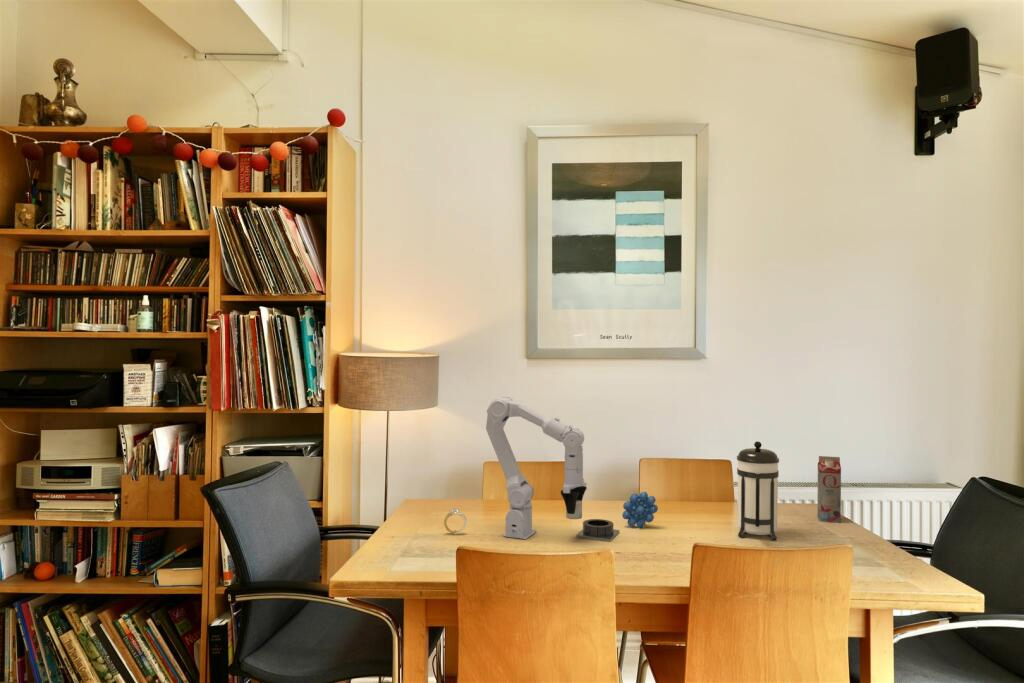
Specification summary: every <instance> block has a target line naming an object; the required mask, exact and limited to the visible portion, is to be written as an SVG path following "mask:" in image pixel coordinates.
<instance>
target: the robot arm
mask: <svg viewBox="0 0 1024 683" xmlns="http://www.w3.org/2000/svg"><path fill="white" fill-rule="evenodd" d="M486 414H487V416H486V425H485V426H486V427H485V429H486V430H485V431H486V432H487V435H488V437H489V440H490V442H491V445H492V447H493V451H494V453H495V455H496V457H497V460H498V462H499V465H500V467H501V469H502V470H501V471H502V472H503V474H504V477H505V480H506V481H505V482H506V486H505V487H506V491H507V501H508V503H509V511H507V513H506V516H505V533H503V534H502V537H506V538H513V539H521V540H527V539H528V538H529V537H531V536H532V535H534V534H536V533H537V529H533V503H532V501H531V500H532V499H533V497H534V494H535V492H534V491H535V490H534V487H533V486H532V485H531V484H530V483H529V482H528V480H527V478H526V477H525V476H524V475H523V474H522V472H521V470H520V467H519V466H520V465H518V464H519V463H518V462H517V460H516V457H515V454H514V452H513V450H512V448H511V445H510V444H511V443H510V442H509V440H508V437H507V435H506V432H505V429H504V428H505V425H506V423H507V422H508V419H509V418H514V417H518V418H522V419H524V420H526V421H528V422H530V423H532V424H534V425H536V426H538V427H540V428H541V429H542V432H543V434H545V435H547V436H549V437H550V438H552V439H554V440H556V441H557V442H559V443H562V444H563V446H564V481H563V486H562V490H560V495H561V497H562V499H563V501H564V504H565V505H564V506H565V511H566V510H567V513H568V514H574V513H575V508H576V501H577V500H580V501H581V502H582V503H583V498H584V495H585V492H586V491H587V489H588V488H587V482H585V478H584V454H583V450H584V448H583V444H584V441H585V436H584V432H582V430H580V429H579V428H577V427H574V428H573V425H568V424H566V423H564V422H562V421H560V418H559V417H554V416H553V417H552V416H551V417H548V418H547V417H545V416H544V415H542V414H539V413H538V412H537V411H535V410H534V409H532V408H530V407H528V406H527V405H525V404H523V403H522V402H520V401H518V400H516V399H513V398H511V397H509V396H503V397H500V398H496V399H494V400H492V401H491V402H490V404H489V406H488V407H487V409H486Z"/></svg>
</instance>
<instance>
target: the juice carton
mask: <svg viewBox="0 0 1024 683" xmlns="http://www.w3.org/2000/svg"><path fill="white" fill-rule="evenodd" d="M841 493H842V467H841V458H840V456H828V455H827V456H824V455H818V462H817V503H816V504H817V506H816V507H817V510H816V511H817V513H816V514H817V516H816V517H817V518H818V519H817V520H818V522H824V523H836V524H837V523H838V524H841V523H842V521H841V518H842V514H841V513H842V512H841V510H842V507H841V506H842V501H841V500H842V496H841V495H842V494H841Z"/></svg>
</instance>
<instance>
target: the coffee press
mask: <svg viewBox="0 0 1024 683" xmlns="http://www.w3.org/2000/svg"><path fill="white" fill-rule="evenodd" d="M753 446H754V448H753V447H752V448H744V449H742V450H740V451H739V452H738V455H736V460H737V468H736V469H737V470H736V474H737V527H738V529H739V532H738V534H737V537H739V538H740V539H744V538H745V536H747V535H749V534H751V535H757V536H767V537H768V539H770V541H771V542H774V541H777V539H778V537H777V534H776V532H777V531H778V514H779V513H778V510H779V509H778V504H779V503H778V498H779V497H778V495H779V494H778V493H779V492H778V491H779V489H778V487H779V483H778V482H779V480H778V478H779V463H780V458H779V457H778V454H776V452H774V451H772V450H770V449H767V448H762V443H761V441H759V440H758V441H755V442H754V444H753Z"/></svg>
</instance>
